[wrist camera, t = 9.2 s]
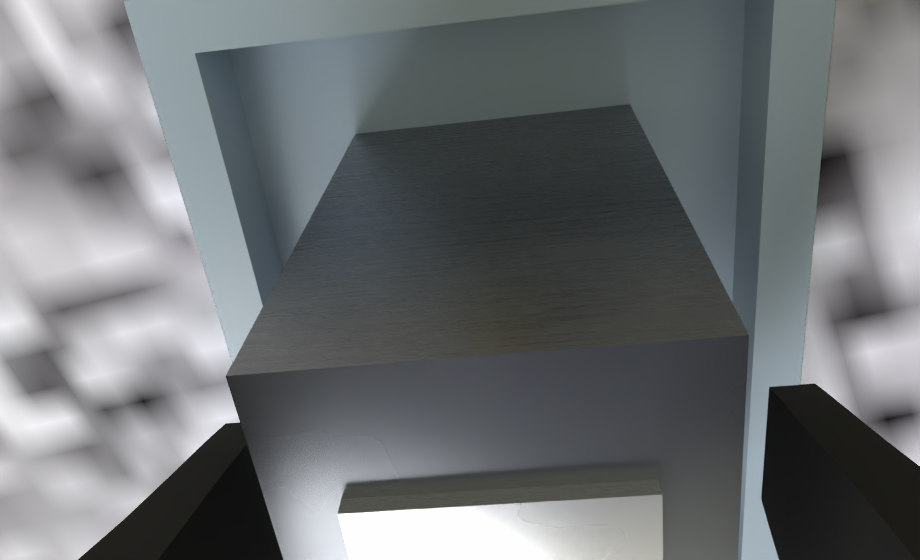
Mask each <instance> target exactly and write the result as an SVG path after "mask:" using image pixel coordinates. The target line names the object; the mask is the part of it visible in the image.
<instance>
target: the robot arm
mask: <svg viewBox="0 0 920 560" xmlns="http://www.w3.org/2000/svg"><path fill="white" fill-rule="evenodd" d="M761 500H762V504H763V507H764V511H765V514H766V518H767V521H768V525H769V528H770V532H771V535H772V539H773V542H774V545H775V548H776V552H777V555H778V558H779V560H920V466H918V465H917V464H916V463H914V462H913V461H912V460H910V459H909V458H908V457H907V456H905V455H904V454H903V453H901V452H900V451H899V450H898V449H896V448H895V447H894V446H892V445H891V444H890V443H889V442H887V441H886V440H885V439H883V438H882V437H881V436H880V435H878V434H877V433H876V432H875V431H873V430H872V429H871V428H870V427H868V426H867V425H866V424H865V423H863V422H862V421H861V420H860V419H858V418H857V417H856V416H855V415H854V414H852V413H851V412H850V411H849V410H847V409H846V408H845V407H844V406H842V405H841V404H840V403H839V402H837V401H836V400H835V399H834V398H833V397H831V396H830V395H829V394H827V393H826V392H825V391H824V390H822V389H821V388H820V387H818V386H817V385H816V384H805V385H790V386H775V387H769V396H768V410H767V424H766V439H765V453H764V467H763V481H762V495H761ZM78 560H283V557H282V554H281V550H280V547H279V544H278V541H277V538H276V534H275V531H274V528H273V525H272V522H271V518H270V515H269V512H268V509H267V506H266V503H265V499H264V496H263V493H262V490H261V487H260V483H259V480H258V477H257V474H256V471H255V467H254V464H253V461H252V458H251V455H250V452H249V448H248V445H247V442H246V439H245V436H244V432H243V429H242V426H241V423H229V424H225V425H224V426H223V427H222V428H220V429H219V430H218V431H217V432H216V433H215V434H214V435H213V436H211V437H210V438H209V439H208V440H207V441H206V442H205V443H204V444H203V445H202V446H201V447H200V448H199V449H198V450H197V451H196V452H195V453H194V454H192V455H191V456H190V457H189V458H188V459H187V460H186V461H185V462H184V463H183V464H182V465H181V466H180V467H179V468H178V469H177V470H176V471H175V472H174V473H173V474H172V475H171V476H170V477H169V478H168V479H167V480H166V481H164V482H163V483H162V484H161V485H160V486H159V487H158V488H157V489H156V490H155V491H154V492H153V493H152V494H151V495H150V496H149V497H148V498H146V499H145V500H144V501H143V502H142V503H141V504H140V505H139V506H138V507H137V508H136V509H135V510H134V511H133V512H132V513H131V514H130V515H128V516H127V517H126V518H125V519H124V520H123V521H122V522H121V523H120V524H118V525H117V526H116V527H115V528H114V529H113V530H112V531H110V532H109V533H108V534H107V535H106V536H105V537H104V538H102V539H101V540H100V541H99V542H98V543H97V544H96V545H94V546H93V547H92V548H91V549H90V550H89V551H87V552H86V553H85V554H84V555H83V556H82V557H81V558H79V559H78Z"/></svg>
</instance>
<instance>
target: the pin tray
mask: <svg viewBox="0 0 920 560" xmlns="http://www.w3.org/2000/svg"><path fill="white" fill-rule="evenodd" d="M835 4H836V0H126V1H124V5H125V8H126V11H127V15H128V18H129V21H130V25H131V28H132V31H133V35H134V38H135V41H136V45H137V48H138V51H139V54H140V58H141V61H142V64H143V68H144V71H145V74H146V78H147V81H148V84H149V88H150V91H151V94H152V98H153V101H154V104H155V108H156V111H157V114H158V118H159V121H160V124H161V128H162V131H163V134H164V137H165V141H166V144H167V147H168V151H169V154H170V157H171V161H172V164H173V167H174V171H175V174H176V177H177V181H178V184H179V187H180V191H181V194H182V197H183V201H184V204H185V207H186V211H187V214H188V217H189V220H190V224H191V227H192V230H193V234H194V237H195V240H196V244H197V247H198V250H199V254H200V257H201V260H202V264H203V267H204V270H205V274H206V277H207V280H208V284H209V287H210V290H211V294H212V297H213V300H214V303H215V307H216V310H217V313H218V317H219V320H220V323H221V327H222V330H223V333H224V337H225V340H226V343H227V347H228V350H229V353H230V357H231V360H232V363H233V362H234V360H235V358H236V356H237V354H238V352H239V350H240V349H241V347H242V345H243V343H244V341H245V339H246V337H247V335H248V334H249V332H250V330H251V328H252V326H253V324H254V322H255V321H256V319H257V317H258V315H259V313H260V311H261V309H262V307H263V306H264V304H265V302H266V300H267V298H268V296H269V294H270V292H271V291H272V289H273V287H274V285H275V283H276V281H277V279H278V277H279V276H280V274H281V272H282V270H283V268H284V266H285V264H286V262H287V261H288V259H289V257H290V255H291V253H292V251H293V249H294V247H295V246H296V244H297V242H298V240H299V238H300V236H301V234H302V233H303V231H304V229H305V227H306V225H307V223H308V221H309V219H310V218H311V216H312V214H313V212H314V210H315V208H316V206H317V204H318V203H319V201H320V199H321V197H322V195H323V193H324V191H325V189H326V188H327V186H328V184H329V182H330V180H331V178H332V176H333V174H334V173H335V171H336V169H337V167H338V165H339V163H340V161H341V159H342V158H343V156H344V154H345V152H346V150H347V148H348V146H349V145H350V143H351V141H352V139H353V137H354V135H355V134H359V133H368V132H377V131H386V130H396V129H405V128H414V127H423V126H433V125H442V124H451V123H460V122H470V121H479V120H488V119H497V118H507V117H516V116H525V115H534V114H544V113H553V112H562V111H571V110H581V109H590V108H599V107H608V106H618V105H627V104H630V105H631V107H632V109H633V111H634V113H635V115H636V117H637V119H638V121H639V123H640V125H641V127H642V129H643V130H644V132H645V134H646V136H647V138H648V140H649V142H650V144H651V146H652V148H653V150H654V152H655V154H656V156H657V158H658V160H659V161H660V163H661V165H662V167H663V169H664V171H665V173H666V175H667V177H668V179H669V181H670V183H671V185H672V187H673V189H674V191H675V192H676V194H677V196H678V198H679V200H680V202H681V204H682V206H683V208H684V210H685V212H686V214H687V216H688V218H689V220H690V222H691V223H692V225H693V227H694V229H695V231H696V233H697V235H698V237H699V239H700V241H701V243H702V245H703V247H704V249H705V251H706V253H707V254H708V256H709V258H710V260H711V262H712V264H713V266H714V268H715V270H716V272H717V274H718V276H719V278H720V280H721V282H722V284H723V286H724V287H725V289H726V291H727V293H728V295H729V297H730V299H731V301H732V303H733V305H734V307H735V309H736V311H737V313H738V315H739V317H740V318H741V320H742V322H743V324H744V326H745V328H746V330H747V332H748V334H749V345H748V365H747V385H746V405H745V425H744V445H743V465H742V485H741V505H740V525H739V545H738V560H779V558H778V555H777V552H776V548H775V545H774V542H773V539H772V535H771V532H770V528H769V525H768V521H767V518H766V514H765V511H764V507H763V504H762V500H761V495H762V481H763V467H764V453H765V439H766V424H767V410H768V396H769V387H775V386H790V385H800V380H801V369H802V359H803V348H804V337H805V326H806V316H807V305H808V294H809V283H810V273H811V262H812V251H813V240H814V230H815V219H816V208H817V197H818V187H819V176H820V165H821V154H822V144H823V133H824V122H825V111H826V101H827V90H828V79H829V68H830V58H831V47H832V36H833V25H834V15H835Z"/></svg>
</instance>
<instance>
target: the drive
mask: <svg viewBox="0 0 920 560" xmlns="http://www.w3.org/2000/svg"><path fill="white" fill-rule="evenodd" d="M748 345H749V334H748V332H747V330H746V328H745V326H744V324H743V322H742V320H741V318H740V317H739V315H738V313H737V311H736V309H735V307H734V305H733V303H732V301H731V299H730V297H729V295H728V293H727V291H726V289H725V287H724V286H723V284H722V282H721V280H720V278H719V276H718V274H717V272H716V270H715V268H714V266H713V264H712V262H711V260H710V258H709V256H708V254H707V253H706V251H705V249H704V247H703V245H702V243H701V241H700V239H699V237H698V235H697V233H696V231H695V229H694V227H693V225H692V223H691V222H690V220H689V218H688V216H687V214H686V212H685V210H684V208H683V206H682V204H681V202H680V200H679V198H678V196H677V194H676V192H675V191H674V189H673V187H672V185H671V183H670V181H669V179H668V177H667V175H666V173H665V171H664V169H663V167H662V165H661V163H660V161H659V160H658V158H657V156H656V154H655V152H654V150H653V148H652V146H651V144H650V142H649V140H648V138H647V136H646V134H645V132H644V130H643V129H642V127H641V125H640V123H639V121H638V119H637V117H636V115H635V113H634V111H633V109H632V107H631V105H630V104H627V105H618V106H608V107H599V108H590V109H581V110H571V111H562V112H553V113H544V114H534V115H525V116H516V117H507V118H497V119H488V120H479V121H470V122H460V123H451V124H442V125H433V126H423V127H414V128H405V129H396V130H386V131H377V132H368V133H359V134H355V135H354V137H353V139H352V141H351V143H350V145H349V146H348V148H347V150H346V152H345V154H344V156H343V158H342V159H341V161H340V163H339V165H338V167H337V169H336V171H335V173H334V174H333V176H332V178H331V180H330V182H329V184H328V186H327V188H326V189H325V191H324V193H323V195H322V197H321V199H320V201H319V203H318V204H317V206H316V208H315V210H314V212H313V214H312V216H311V218H310V219H309V221H308V223H307V225H306V227H305V229H304V231H303V233H302V234H301V236H300V238H299V240H298V242H297V244H296V246H295V247H294V249H293V251H292V253H291V255H290V257H289V259H288V261H287V262H286V264H285V266H284V268H283V270H282V272H281V274H280V276H279V277H278V279H277V281H276V283H275V285H274V287H273V289H272V291H271V292H270V294H269V296H268V298H267V300H266V302H265V304H264V306H263V307H262V309H261V311H260V313H259V315H258V317H257V319H256V321H255V322H254V324H253V326H252V328H251V330H250V332H249V334H248V335H247V337H246V339H245V341H244V343H243V345H242V347H241V349H240V350H239V352H238V354H237V356H236V358H235V360H234V362H233V364H232V365H231V367H230V369H229V371H228V373H227V375H226V378H227V381H228V385H229V388H230V391H231V394H232V397H233V401H234V404H235V407H236V410H237V413H238V416H239V420H240V423H241V426H242V429H243V432H244V436H245V439H246V442H247V445H248V448H249V452H250V455H251V458H252V461H253V464H254V467H255V471H256V474H257V477H258V480H259V483H260V487H261V490H262V493H263V496H264V499H265V503H266V506H267V509H268V512H269V515H270V518H271V522H272V525H273V528H274V531H275V534H276V538H277V541H278V544H279V547H280V550H281V554H282V557H283V560H738V545H739V525H740V505H741V485H742V465H743V445H744V425H745V405H746V385H747V365H748Z"/></svg>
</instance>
